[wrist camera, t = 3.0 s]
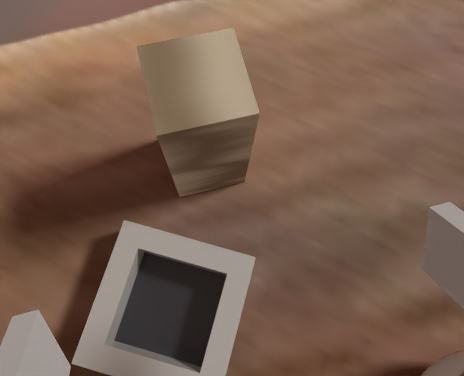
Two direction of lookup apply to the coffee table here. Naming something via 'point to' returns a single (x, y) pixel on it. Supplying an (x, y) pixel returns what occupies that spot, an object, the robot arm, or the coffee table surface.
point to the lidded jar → (447, 366)
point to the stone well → (165, 307)
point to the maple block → (201, 108)
